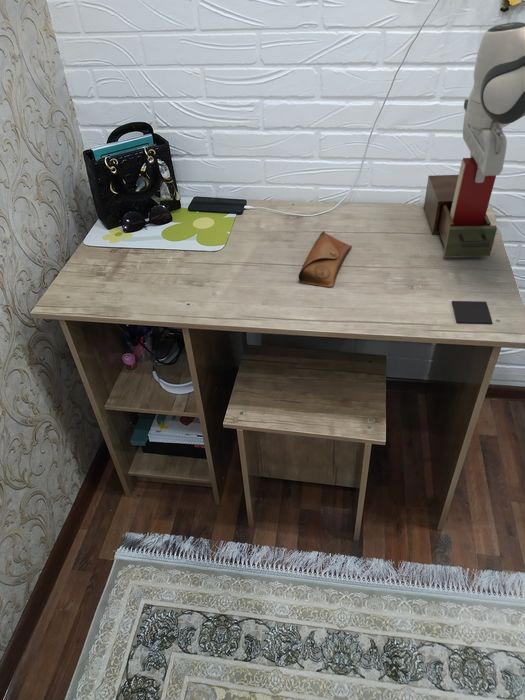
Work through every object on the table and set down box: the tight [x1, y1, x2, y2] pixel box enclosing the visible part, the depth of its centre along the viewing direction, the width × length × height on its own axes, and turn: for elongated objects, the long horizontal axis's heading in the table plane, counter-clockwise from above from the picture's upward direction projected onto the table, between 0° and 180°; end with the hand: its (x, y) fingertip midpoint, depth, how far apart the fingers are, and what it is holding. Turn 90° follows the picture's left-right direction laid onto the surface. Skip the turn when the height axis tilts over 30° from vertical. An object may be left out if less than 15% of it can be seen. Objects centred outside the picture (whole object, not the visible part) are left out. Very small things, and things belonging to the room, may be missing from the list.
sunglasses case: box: [298, 230, 352, 288], centre depth 133 cm, size 18×7×7 cm
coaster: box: [451, 300, 493, 325], centre depth 118 cm, size 7×7×1 cm
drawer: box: [438, 204, 498, 258], centre depth 133 cm, size 17×10×7 cm, turn 177°
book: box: [450, 157, 497, 226], centre depth 128 cm, size 7×3×15 cm, turn 87°
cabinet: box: [423, 174, 459, 236], centre depth 143 cm, size 14×12×9 cm
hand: (476, 176), depth 125 cm, fingers closed on book, 3 cm apart
